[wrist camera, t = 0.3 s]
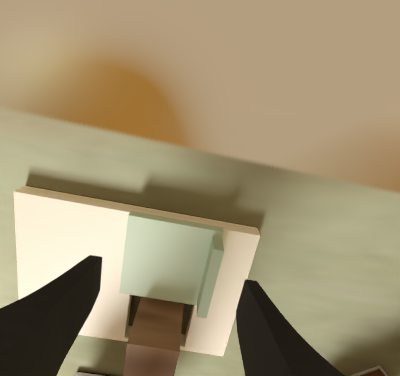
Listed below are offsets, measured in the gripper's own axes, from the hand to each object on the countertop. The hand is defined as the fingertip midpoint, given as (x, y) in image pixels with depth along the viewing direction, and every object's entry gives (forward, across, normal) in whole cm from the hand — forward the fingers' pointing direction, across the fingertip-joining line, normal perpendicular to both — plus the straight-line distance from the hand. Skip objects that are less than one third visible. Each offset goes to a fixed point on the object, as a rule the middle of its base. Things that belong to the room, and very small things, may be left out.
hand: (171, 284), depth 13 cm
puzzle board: (+10, +4, +8) cm, 13 cm away
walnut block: (+10, 0, +11) cm, 15 cm away
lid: (+8, 0, +4) cm, 9 cm away
